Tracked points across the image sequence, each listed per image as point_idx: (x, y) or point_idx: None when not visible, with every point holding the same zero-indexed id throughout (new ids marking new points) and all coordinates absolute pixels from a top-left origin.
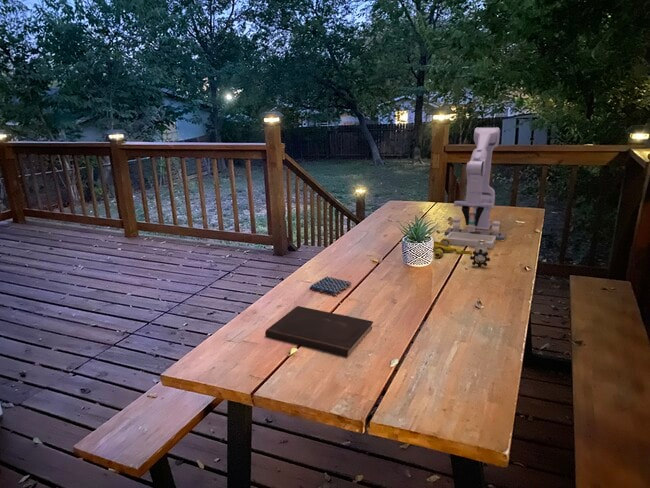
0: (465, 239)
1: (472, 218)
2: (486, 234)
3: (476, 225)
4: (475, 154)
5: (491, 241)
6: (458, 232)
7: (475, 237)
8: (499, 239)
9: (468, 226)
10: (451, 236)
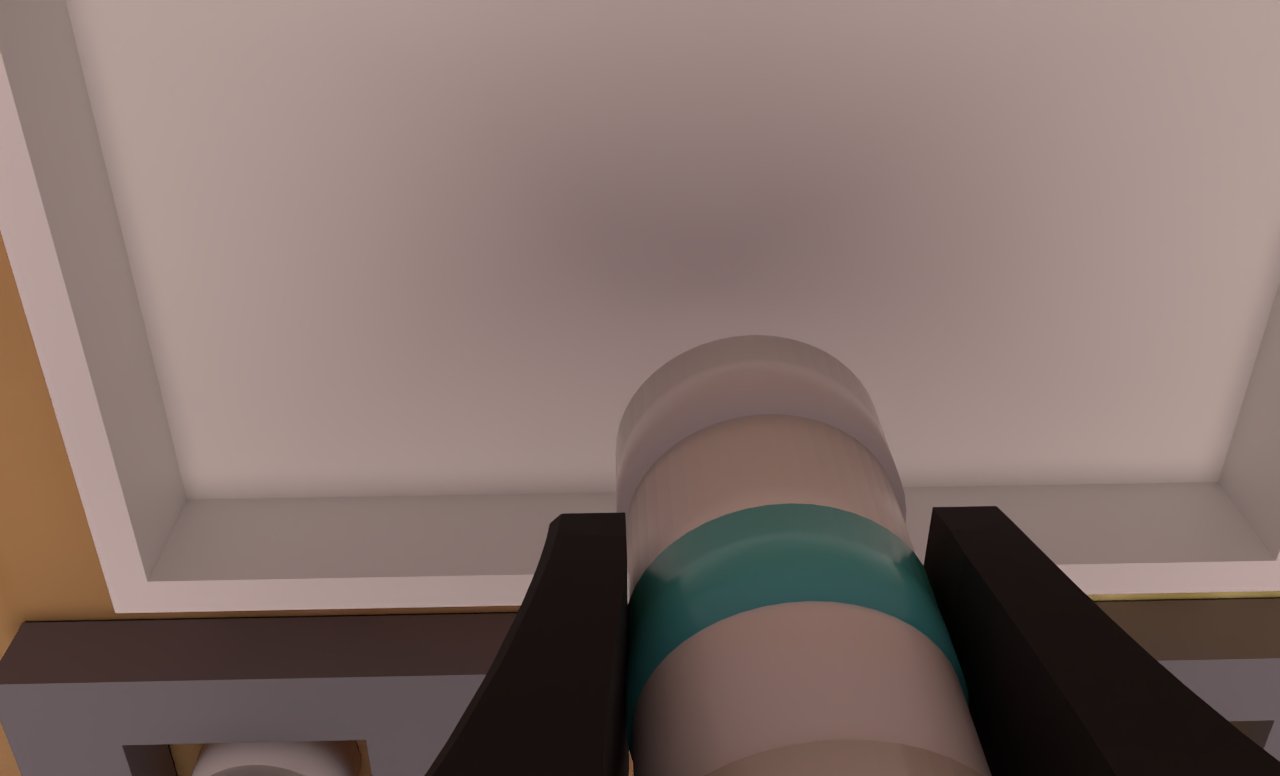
0: None
1: (796, 740)
2: None
3: (565, 524)
4: None
5: (227, 463)
6: None
7: None
8: (113, 645)
9: (885, 490)
10: (1228, 479)
